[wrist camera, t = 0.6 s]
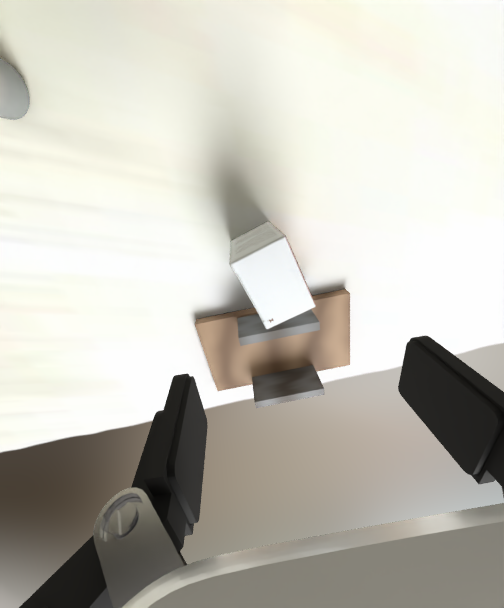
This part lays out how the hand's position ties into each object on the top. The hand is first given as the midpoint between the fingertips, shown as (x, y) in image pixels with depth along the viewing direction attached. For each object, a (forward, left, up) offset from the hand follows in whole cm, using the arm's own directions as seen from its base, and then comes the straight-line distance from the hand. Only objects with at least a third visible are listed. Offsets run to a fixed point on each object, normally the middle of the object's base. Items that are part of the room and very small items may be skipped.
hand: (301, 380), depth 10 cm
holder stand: (-1, +14, -23) cm, 27 cm away
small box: (-1, +1, -23) cm, 23 cm away
